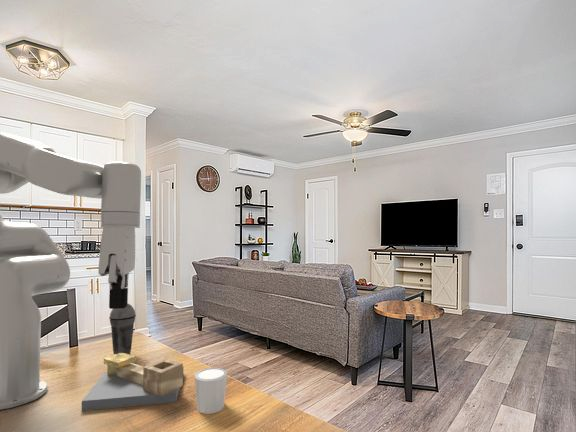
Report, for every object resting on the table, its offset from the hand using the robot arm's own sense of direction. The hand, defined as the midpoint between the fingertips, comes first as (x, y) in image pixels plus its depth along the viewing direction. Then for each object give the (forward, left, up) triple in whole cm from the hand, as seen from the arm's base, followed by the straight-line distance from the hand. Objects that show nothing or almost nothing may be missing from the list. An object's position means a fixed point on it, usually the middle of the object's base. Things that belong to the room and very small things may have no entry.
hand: (118, 307), depth 74 cm
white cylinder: (+19, -2, -22) cm, 29 cm away
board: (+2, +9, -21) cm, 23 cm away
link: (+4, +8, -19) cm, 22 cm away
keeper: (-3, +13, -21) cm, 25 cm away
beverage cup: (-8, +34, -22) cm, 41 cm away
